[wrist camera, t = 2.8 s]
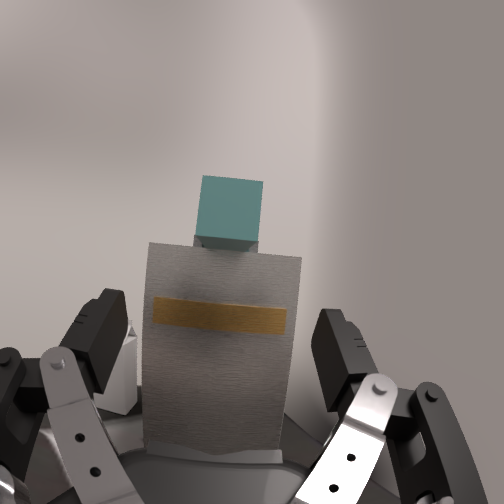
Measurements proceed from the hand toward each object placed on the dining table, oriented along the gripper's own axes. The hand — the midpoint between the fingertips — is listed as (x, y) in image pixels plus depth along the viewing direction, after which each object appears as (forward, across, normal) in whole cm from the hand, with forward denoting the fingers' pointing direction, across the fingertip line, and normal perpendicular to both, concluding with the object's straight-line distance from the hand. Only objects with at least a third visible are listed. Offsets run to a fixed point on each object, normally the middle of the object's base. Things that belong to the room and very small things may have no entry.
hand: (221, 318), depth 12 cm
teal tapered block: (+18, 0, -6) cm, 19 cm away
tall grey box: (+7, 0, -37) cm, 38 cm away
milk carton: (+22, -20, -46) cm, 55 cm away
